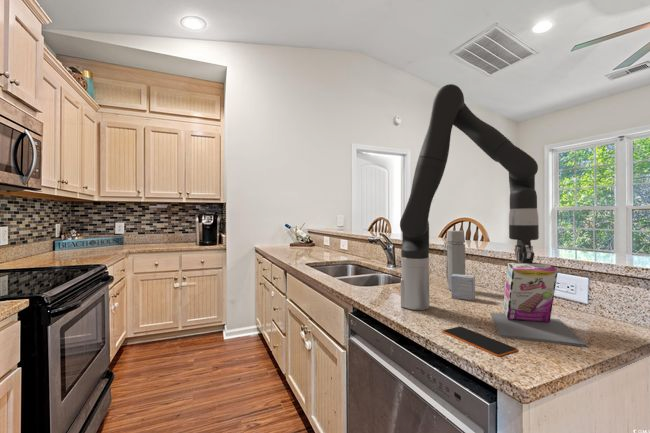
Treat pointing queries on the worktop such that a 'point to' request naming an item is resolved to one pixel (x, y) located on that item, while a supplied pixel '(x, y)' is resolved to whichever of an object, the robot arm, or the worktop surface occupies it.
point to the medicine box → (463, 287)
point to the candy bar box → (529, 292)
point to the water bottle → (454, 255)
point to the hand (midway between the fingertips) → (524, 280)
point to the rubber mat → (536, 330)
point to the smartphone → (480, 341)
